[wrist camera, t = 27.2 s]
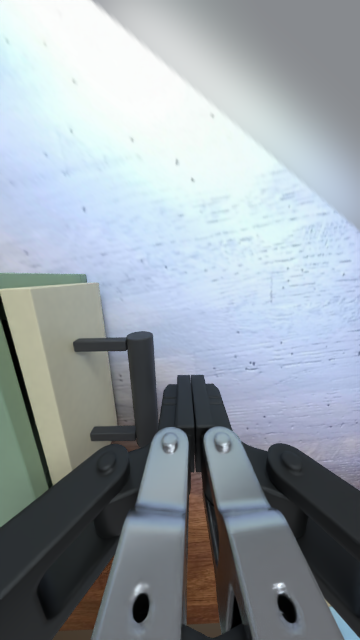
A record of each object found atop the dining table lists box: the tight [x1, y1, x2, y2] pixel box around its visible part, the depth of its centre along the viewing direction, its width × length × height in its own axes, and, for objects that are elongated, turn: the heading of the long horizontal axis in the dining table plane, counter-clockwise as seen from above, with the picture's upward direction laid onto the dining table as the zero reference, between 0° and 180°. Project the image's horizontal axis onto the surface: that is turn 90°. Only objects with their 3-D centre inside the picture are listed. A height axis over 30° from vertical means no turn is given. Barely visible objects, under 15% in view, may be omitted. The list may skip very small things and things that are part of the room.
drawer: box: [0, 283, 159, 485], centre depth 11 cm, size 19×12×6 cm, turn 91°
